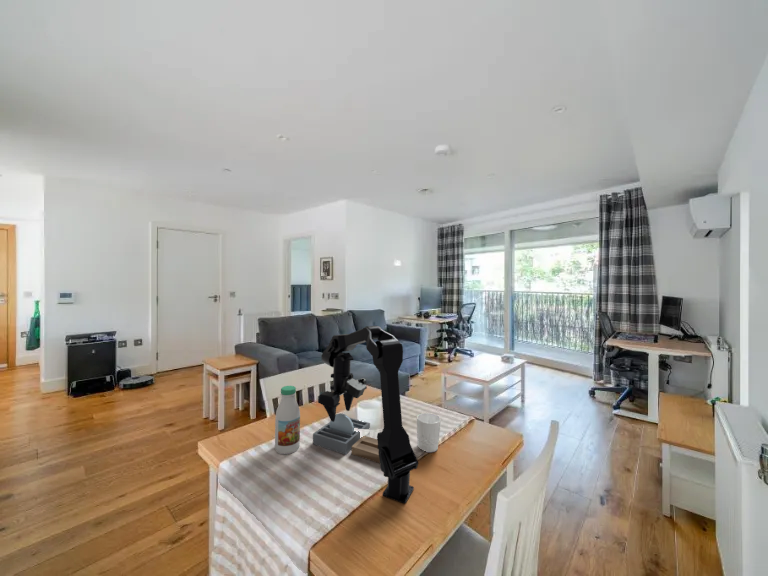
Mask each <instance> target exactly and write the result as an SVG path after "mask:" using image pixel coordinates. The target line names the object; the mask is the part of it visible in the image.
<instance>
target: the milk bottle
mask: <svg viewBox="0 0 768 576" xmlns="http://www.w3.org/2000/svg"><path fill="white" fill-rule="evenodd" d="M296 391H297V388H296V386H294V385H284V386H282V387H281V388H280V396H281V399H280V401H279V404H278V407H277V408H276V411H275V422H274V427H275V428H274V450H275V452H276V453H277V454H280V455H289V454H292V453H295V452H297V451H298V450H299V449H300V447H301V445H300V444H301V443H300V442H301V440H300V439H301V410H300V406H299V404H298V402H297V400H296V394H297V393H296Z"/></svg>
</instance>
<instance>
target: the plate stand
mask: <svg viewBox="0 0 768 576" xmlns="http://www.w3.org/2000/svg"><path fill="white" fill-rule="evenodd" d="M377 448H378V440H377V438H373V437H370V436H368V435H367V436H363V437H361V438H360V439H359V440H358V441H357V442H356V443H355V444H354V445H353V446H352V449H351V450H350V451H351V455H353V456H356V457H359V458H361V459H362V458H363V459H364V460H368V461H371V462H375V463H377V464H380V459H379V453H378V452H379V449H377Z"/></svg>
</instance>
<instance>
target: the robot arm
mask: <svg viewBox="0 0 768 576" xmlns="http://www.w3.org/2000/svg"><path fill="white" fill-rule="evenodd" d="M374 340H376V341H374ZM364 343H366V345H365V346H366V347H365V348H366V351H368V353H369V354H370V355H371V356H372V362H373V365H374V366H375V368H376V369H377V370H378V372H379V376H380V377H379V378H380V389H381V390H380V394H381V407H382V417H383V419H382V420H383V421H382V422H383V429H382V431H380V432H377V434H376V439H377V440H378V448H377V449H379V452H378V453H379V459H380V463H379V465H380V466H379V467H380V470H381V472H382V473H383V477H384V478H387V486H386V488H385V489H384V490H383V492H382V496H383V497H385V498H388V499H392V500H393V501H396V502H399V503H402V504H406V503H407V501H408V500H409V498H410V496H411V495H412V493H413V491H414V489H415V488H414V486H413V485H410V481H411V479H410V478H411V477H410V476H411V471H412V470H416V469H417V468H418V465H419V461H418V457H417V456H416V454H415V451H414V449H413V448H412V444H411V441H410V436H409V434H408V433H407V430H406V429H405V428H404V426H403V418H402V403H401V393H400V392H401V391H400V381H399V370H400V368H401V366H402V364H403V361H404V347H403V344H402V343H401V341H400V340H398V339H397V338H396V337H395V335H393V334H391V333H390V332H387V331H385V330H384V329H382V327H381V326H379V325H369V326H365V327H363V328H361V329H357V330H356V331H353V332H351V333H346V334H344V333H343V334H334V335H333V336H332V337H331V339H330V341H329V343H328V345H326V348H325V349H324V351H323V352H322V354H321V355H320V356H321V357H320V358H321V361H322V362H323V364H325V365H328V366H329V367H331V368H333V372H332V373H331V374H330V378H331V379H332V382H333V383H332V385H331V386H330V390H331V391H329V390H326V391H323V392H321V393H320V394H319V395H318V396H317V403H318V404H320V405H322V406H323V407H324V409H325V411H326V414H327V415H328V417H329V420H330V421H333V422H334V421H335V415H336V414H337V407H338V406H339V405H340V404H341V403H340V400H341V396H342V397H343V402H344V407H345V411H346V412H349V411H350V410H351V408H352V404H353V401H354V399H359V398H360V397H361V396H363V395H364V392H365V391H366V390H367V389H368V388H367V379H365V378H364V377H362V378H360V379H358V378H357V379H355V378H354V374H353V373H352V372H351V362H352V361H354V357H353V355H351V353H350V352H349V351H352V350H354V349H355V348H357V345H361V344H364Z"/></svg>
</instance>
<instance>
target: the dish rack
mask: <svg viewBox="0 0 768 576" xmlns="http://www.w3.org/2000/svg"><path fill="white" fill-rule="evenodd" d="M349 418H350V419H351V421H352V423H353V426H354V428H358V429H369V428H370V429H371V423H370V422H368V421H364V422H362V421H363V420H361V421H359V419H356V418H352V417H349ZM359 439H360V432H359V431H358V432H356V431H354V432H353V435H351V434H347V433H344V432H341V431H337V430H334V429H330V421H329V422H327V424H325V425H324V426H322V427H320V428H319V429H317V430H316V431H315V432H314V433H312V445H315V446H318V447H320V448H324V449H326V450H330V451H333V452H337V453H340V454H342V455H347V454H349V453H350V451H351V449H352V446H353V445H354V444H355V443H356V442H357V441H358V440H359Z"/></svg>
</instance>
